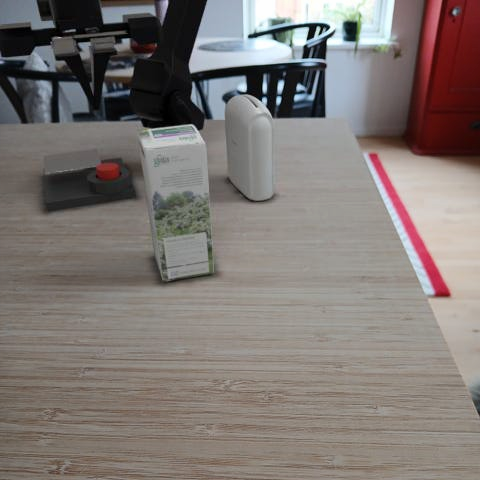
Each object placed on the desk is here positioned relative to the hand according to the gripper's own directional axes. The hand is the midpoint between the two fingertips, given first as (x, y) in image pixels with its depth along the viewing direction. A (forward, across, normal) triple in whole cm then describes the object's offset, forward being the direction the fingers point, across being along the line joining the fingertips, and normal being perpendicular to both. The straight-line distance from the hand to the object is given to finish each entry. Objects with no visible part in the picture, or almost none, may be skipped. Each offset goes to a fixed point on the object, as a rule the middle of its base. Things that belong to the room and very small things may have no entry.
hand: (96, 109), depth 66 cm
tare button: (+9, 0, 0) cm, 9 cm away
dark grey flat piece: (+12, +3, -4) cm, 13 cm away
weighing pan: (+9, +4, -7) cm, 12 cm away
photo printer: (+12, -19, +6) cm, 23 cm away
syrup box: (+12, -5, +24) cm, 27 cm away
